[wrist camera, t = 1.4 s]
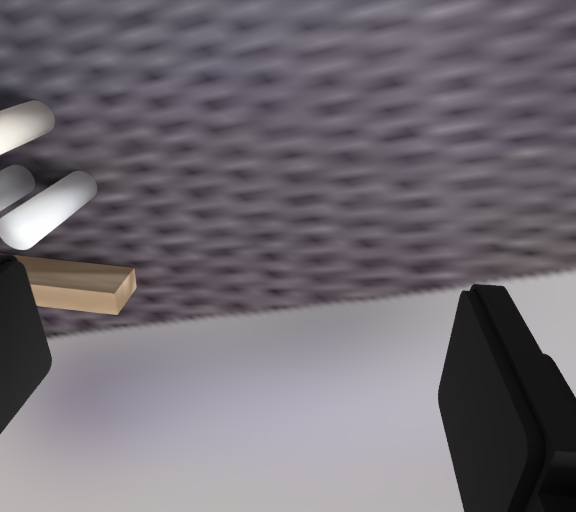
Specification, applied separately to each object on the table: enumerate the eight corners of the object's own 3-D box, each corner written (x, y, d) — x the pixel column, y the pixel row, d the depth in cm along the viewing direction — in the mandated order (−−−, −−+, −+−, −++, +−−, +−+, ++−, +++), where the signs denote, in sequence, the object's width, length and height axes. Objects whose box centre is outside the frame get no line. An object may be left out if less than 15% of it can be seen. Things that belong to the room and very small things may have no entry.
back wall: (-3, 253, 40) (-35, 277, 37) (134, 267, 40) (114, 293, 36) (3, 273, 41) (-29, 298, 38) (136, 287, 41) (117, 314, 37)
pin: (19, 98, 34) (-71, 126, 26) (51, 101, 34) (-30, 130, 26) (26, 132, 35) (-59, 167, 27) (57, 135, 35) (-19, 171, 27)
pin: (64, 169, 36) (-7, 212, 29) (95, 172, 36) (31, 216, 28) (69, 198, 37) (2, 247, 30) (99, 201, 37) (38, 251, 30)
